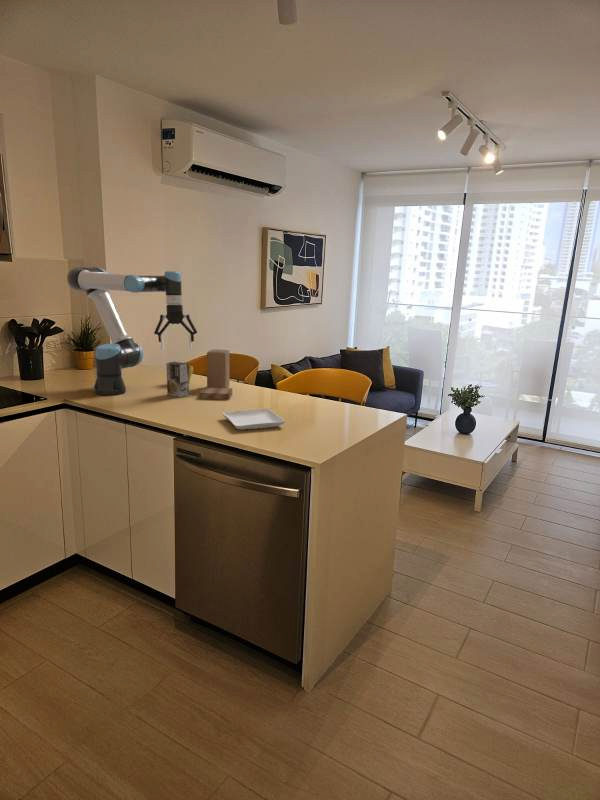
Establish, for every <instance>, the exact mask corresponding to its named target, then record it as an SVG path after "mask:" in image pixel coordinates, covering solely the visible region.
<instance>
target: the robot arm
mask: <svg viewBox="0 0 600 800" xmlns="http://www.w3.org/2000/svg"><path fill="white" fill-rule="evenodd" d="M181 275H182V274H181V272H180V271H179V270H177V271H176V270H175V271H174V270H173V271H170V270H169V271H165V272H164V275H136V274H135V275H134V274H120V273H119V274H118V273H108V272H107V270H105V269H104V268H101V267H95V266H93V267H92V266H91V267H83V266H78V267H73V268H72V269H70V270H69V271H68V273H67V275H66V280H67V281H66V282H67V283H68V286H69V287H70V288H71V289H73V290H74V291H77V292H85V293H86V296H87V297H88V298H89V299H91V300H92V301H93V303H94V305H95V308H96V310H97V312H98V315H99V316H100V319H101V321H102V324H103V326H104V328H105V330H106V333H107V334H108V337H109V339H110V343H105V344H100V345H98V346H97V347H96V348H95V354H94V355H95V356H94V358H95V370H96V378H95V382H94V385H93V394H95V395H98V396H115V395H116V396H118V395H122V394H125V393H126V392H127V386H126V383H125V381H124V378H123V376H122V370H124V369H127V368H133V367H135V366H138V365H140V364H141V363H142V361H143V358H144V351H143V348H142V346H141V345H140V344H138V343H136V342H135V341H134V339H133V337H131V336H129V335H128V333H127V330H126V328H125V326H124V324H123V321H122V320H121V317H120V315H119V313H118V311H117V309H116V306H115V304H114V301H113V299H112V297H111V295H110V292H111V291H120V292H130V293H137V294H138V293H155V292H159V293H160V292H161V293H165V304H166V306H165V307H166V314H160V315H159V321H158V323H157V324H156V325H157V326H156V327H155V330H154V332H153V334H154V335H157V336H158V342H159V343H160V348H161V349H160V350H164V349H165V348H164V347H165V342H164V334H163V333H164V332H165V330H166V329H167V328H168V327H169V326H170V324H171V325H175V324H176V325H181V326H182V327H183V328H184V329H185V330H186V331H187V332H188V333H189V335H188V337H189V338H188V339H189V349H191V350H192V349H193V342H194V341H195V337H194V335H196V334H197V333H198V331H197V328H196V327H195V324H193V321H192V319H191V317H190V316H191V315H190V314H184V311H183V310H184V308H183V295H182V276H181ZM184 318H185V320H187V322H188V324H189V326H190V327H189V326H188V325H187V324H186V323H185V321H183V319H184ZM165 319H167V321H166V323H165V324H164V325H163V327H161V326H162V324H163V322H164V320H165ZM160 328H161V329H160Z"/></svg>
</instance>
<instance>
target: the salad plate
mask: <svg viewBox="0 0 600 800" xmlns="http://www.w3.org/2000/svg"><path fill="white" fill-rule="evenodd" d="M221 414H222V416H223V417H224V418H225V419H226V420H228V421H229V422H230V423H231V425H233V426H234V427H235V428H236V429H237V430H241V431H242V430H243V431H244V430H245V431H246V429H248V430H259V429H258V428H260V429H268V428H269V427H270V428H277V427H280V426H282V425H284V424H285V423H286V420H285V419H283V418H282V417H281V416H279V415H278V414H276V413H275V412H274V411H272V410H271V409H270V408H259V409H258V408H257V409H247V410H245V409H244V410H234V411H224V412H221Z"/></svg>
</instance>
